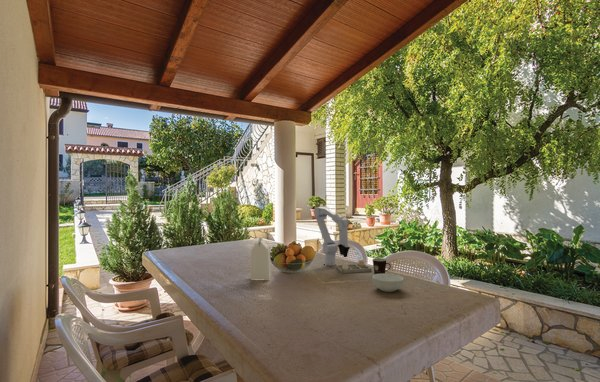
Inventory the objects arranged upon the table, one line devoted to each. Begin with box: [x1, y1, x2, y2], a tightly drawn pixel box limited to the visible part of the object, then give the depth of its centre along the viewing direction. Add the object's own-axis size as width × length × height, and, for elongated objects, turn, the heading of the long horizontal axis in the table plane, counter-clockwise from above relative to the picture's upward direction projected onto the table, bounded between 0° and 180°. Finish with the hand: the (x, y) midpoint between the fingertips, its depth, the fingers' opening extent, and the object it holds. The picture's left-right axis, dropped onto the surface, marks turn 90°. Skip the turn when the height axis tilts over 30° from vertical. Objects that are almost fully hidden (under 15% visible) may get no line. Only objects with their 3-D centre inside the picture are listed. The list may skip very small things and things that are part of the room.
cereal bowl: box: [371, 273, 405, 293], centre depth 181 cm, size 17×17×7 cm
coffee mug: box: [372, 257, 392, 275], centre depth 210 cm, size 12×9×10 cm
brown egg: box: [357, 259, 365, 266], centre depth 227 cm, size 4×4×6 cm
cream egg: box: [342, 261, 349, 270], centre depth 218 cm, size 4×4×6 cm
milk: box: [250, 235, 272, 281], centre depth 209 cm, size 12×12×26 cm
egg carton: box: [335, 263, 372, 274], centre depth 223 cm, size 14×20×3 cm
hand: (343, 255), depth 228 cm, fingers open, 7 cm apart
